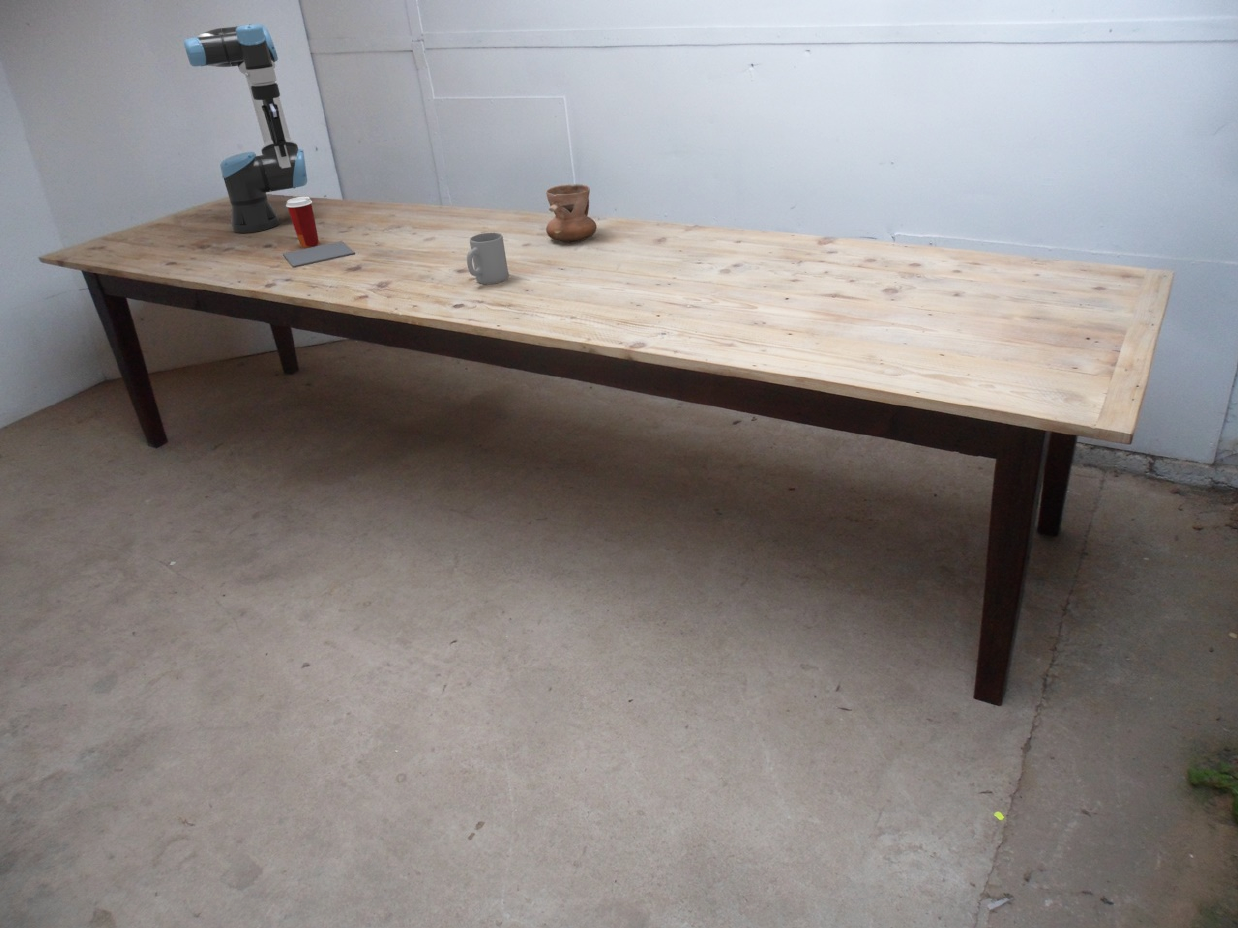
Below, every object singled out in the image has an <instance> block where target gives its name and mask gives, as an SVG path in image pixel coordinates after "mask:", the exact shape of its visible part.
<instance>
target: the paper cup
mask: <svg viewBox="0 0 1238 928" xmlns="http://www.w3.org/2000/svg"><path fill="white" fill-rule="evenodd" d="M285 207H286V208H287V209H288V213H289V215H290V218H291V222H292V225H293V228H294V231H295V234H296V236H297V240H298V243H299V245H300V248H302V249H306V248H311V247H315V246H319V245H320V241H319V236H318V231H317V225H316V220H315V215H314V210H313V209H314V208H313V201H312V200H311V198H310V197H309V196H298V197H293V198H290V199H288V200H286V205H285ZM318 244H319V245H318Z"/></svg>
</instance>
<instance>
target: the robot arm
mask: <svg viewBox="0 0 1238 928" xmlns="http://www.w3.org/2000/svg"><path fill="white" fill-rule="evenodd" d="M183 45H184V48H185V52H186V56H187V58H188V61H189V64H190V65H191V67H195V68H197V67H207V66H208V67H217V68H230V67H232V68H233V67H237V68H238V71H239V72H240V73H241V74H243V75H244V76H245V78H246V82H247V85H248V89H249V90H248V91H249V93H250V98H251V100H252V104H253V107H254V111H255V115H256V117H257V122H258V125H259V130H260V132H261V136H262V140H263V144H264V145H263V147H262V148H261V155H256V153H255V152H254V151H247V152H241V153H239V154H234V155H232V156H229V157H227V158H225V159H223V160H222V161H221V163H220V171H221V175H222V176H221V177H222V179H223V181H224V185H225V188H226V192H227V195H228V198H229V202H230V205H231V228H232V231H233V232H234V233H237V234H238V233H239V234H249V233H256V232H263V231H267V230H269V229H272V228H276V227H277V226H279V225H280V218H279V216H278V214H277V213H276V211H275V209H274V208H273V206H272V204H271V203H270V202H269V199H268V197H267V196H268V195H267V193H271V192H277V191H284V190H290V189H296V188H300V187H304V186H306V185H307V184H308V177H307V176H308V174H307V168H306V160H305V153H304V150H303V149H301V148H299V147H298V144H297V143H296V142H294V141H293V140H291V139H292V138H291V135H290V133H289V127H288V124H287V121H286V117H285V114H284V110H283V107H282V102H281V99H280V97H281V93H280V88H279V84H278V83H277V82H276V81H277V76H276V72H275V68H276V62H278V60H279V58H278V53H277V51H276V48H275V45H274V42H273V39H272V37H271V35H270V33H269V30H268V28H267V27H266V26H265V25H264V24H260V23H257V24H252V23H250V24H247V25H238V26H230V27H229V26H228V27H220V28H215V29H213V28H212V29H210V30H207V31H205V32H202V33H201V34H198V35H196V36H195V37H190V38H186V39H184V41H183Z"/></svg>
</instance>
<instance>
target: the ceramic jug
mask: <svg viewBox="0 0 1238 928" xmlns="http://www.w3.org/2000/svg"><path fill="white" fill-rule="evenodd" d="M590 193H591V192H590V187H589V186H588V185H587V184H586V185H585V184H580V183H567V184H560V185H556V186H552V187H549V188H547V189H546V191H545V194H546V198H547V201H548V204H549V206H550V207H549V208H548V210H549V211H550V212H551V213H553V214H554V215H555V216H554V217H553V218H552V219H551V220H550V221H549V222H548V223H547V225H546V228H545V231H546V234H547V236H548V237H549V238H550V239H552V241H553V240H554V241H556V242H560V243H561V242H562V243H575V242H580V241H583V240H586V239H589V238H590V237H592V236H593V235H594V234H595V233H596V230H597V223H596V222H595V220H594V219H593V218H591V217H590V216H589V211H590V210H589V209H590Z"/></svg>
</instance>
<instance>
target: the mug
mask: <svg viewBox="0 0 1238 928" xmlns="http://www.w3.org/2000/svg"><path fill="white" fill-rule="evenodd" d="M469 244H470V245H469V246H470V250H469V251H468V253H467V255H466V264H467V265H466V266H467V269H468V271H469V274H470V275H471V276H473V277H475V281H476V282H477V283H478V284H482V285H495V284H499V283H503V282H505V281H506V280H508V279H509V269H508V262H507V257H506V251H505V244H504V237H503V235H502V234H501V233H499V232H483V233H479V234H475V235H474V236H472V237H470V238H469Z"/></svg>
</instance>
